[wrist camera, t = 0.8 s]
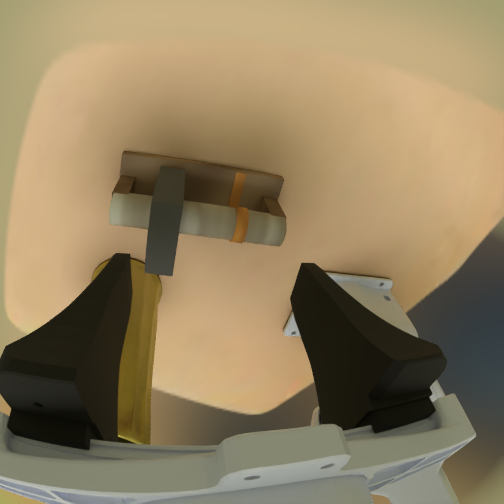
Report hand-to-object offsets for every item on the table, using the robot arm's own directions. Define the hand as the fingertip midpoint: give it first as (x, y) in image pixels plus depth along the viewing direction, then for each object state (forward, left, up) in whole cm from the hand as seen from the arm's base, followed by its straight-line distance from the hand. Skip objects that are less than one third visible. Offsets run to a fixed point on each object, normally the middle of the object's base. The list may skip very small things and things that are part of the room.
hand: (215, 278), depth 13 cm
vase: (+5, +10, -11) cm, 15 cm away
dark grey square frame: (+2, +1, -9) cm, 9 cm away
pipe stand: (0, +1, -10) cm, 10 cm away
